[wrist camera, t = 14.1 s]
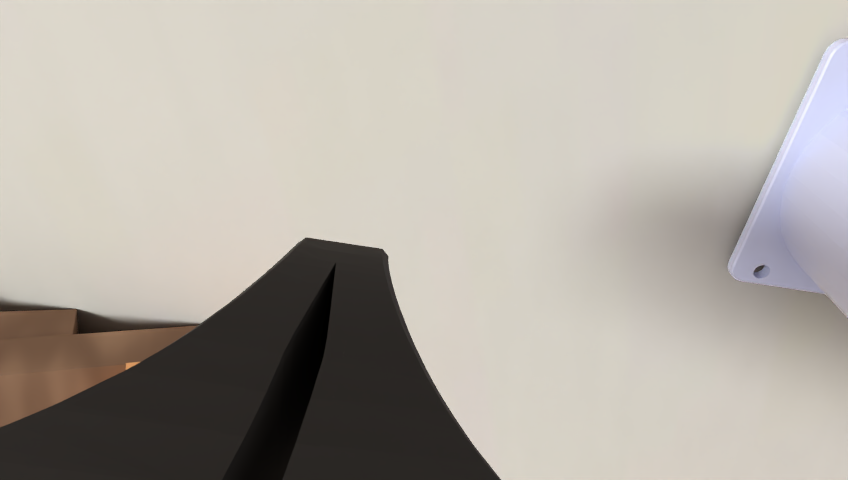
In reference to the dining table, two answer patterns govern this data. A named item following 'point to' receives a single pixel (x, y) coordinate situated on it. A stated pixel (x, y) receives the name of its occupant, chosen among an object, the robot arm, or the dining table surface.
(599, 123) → the dining table surface
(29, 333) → the tile
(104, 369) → the tile
